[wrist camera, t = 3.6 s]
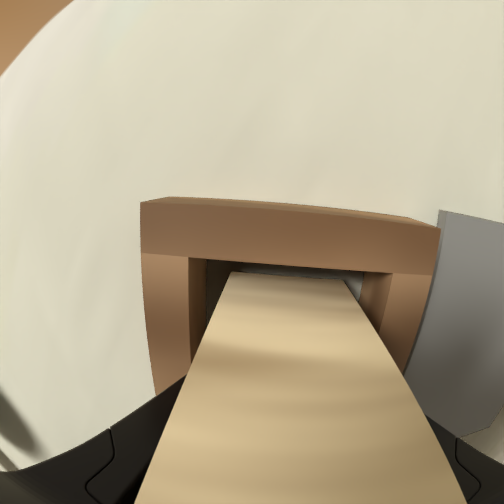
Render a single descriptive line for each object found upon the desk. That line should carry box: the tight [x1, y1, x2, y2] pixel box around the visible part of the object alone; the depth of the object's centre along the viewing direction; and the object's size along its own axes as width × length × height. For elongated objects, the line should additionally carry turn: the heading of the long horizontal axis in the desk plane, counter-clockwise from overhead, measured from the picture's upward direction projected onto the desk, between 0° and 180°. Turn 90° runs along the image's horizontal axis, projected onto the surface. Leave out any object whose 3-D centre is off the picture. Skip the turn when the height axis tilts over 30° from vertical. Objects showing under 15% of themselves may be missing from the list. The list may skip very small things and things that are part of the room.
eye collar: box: [140, 197, 441, 396], centre depth 10 cm, size 9×9×2 cm
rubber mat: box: [402, 210, 504, 438], centre depth 11 cm, size 14×11×1 cm
